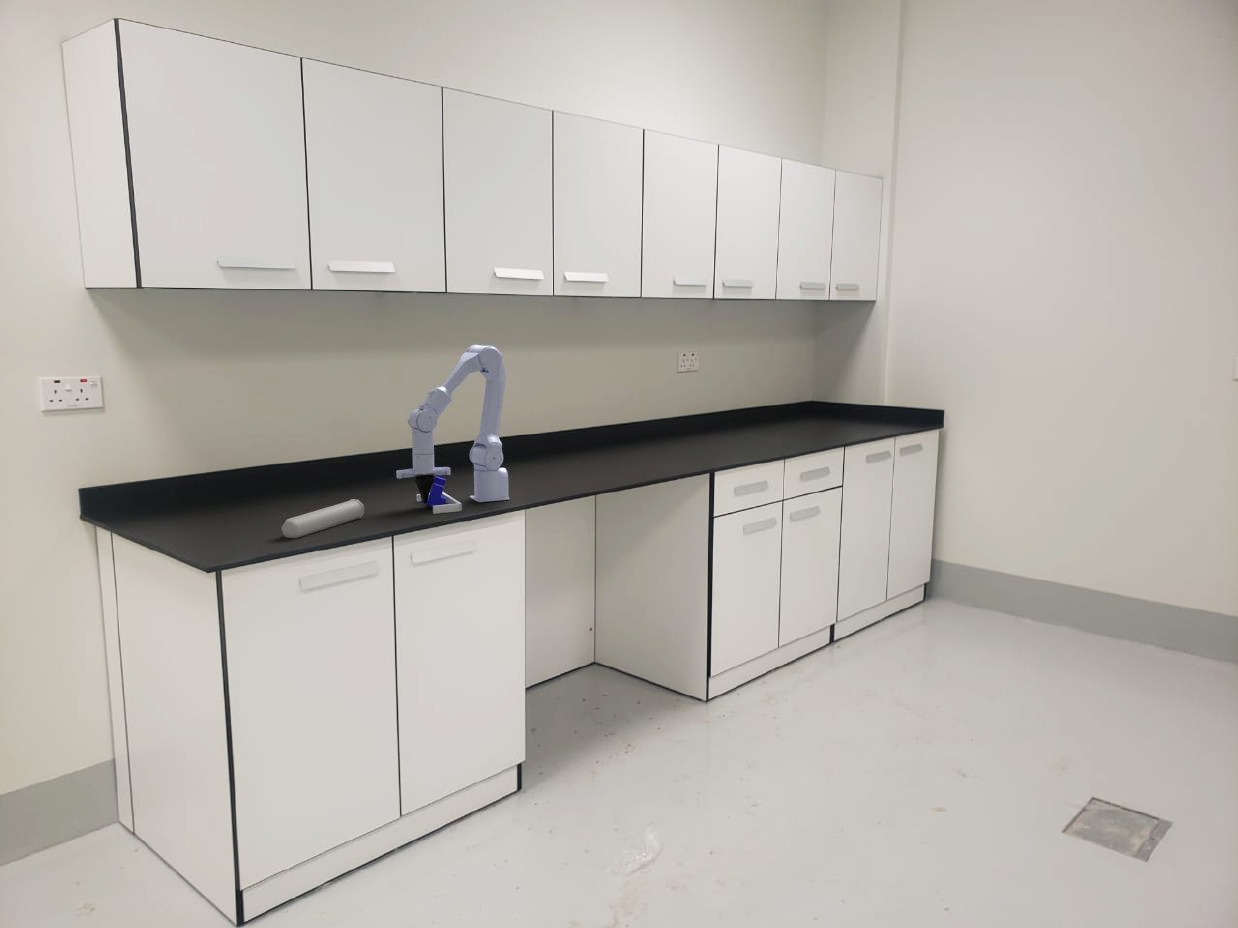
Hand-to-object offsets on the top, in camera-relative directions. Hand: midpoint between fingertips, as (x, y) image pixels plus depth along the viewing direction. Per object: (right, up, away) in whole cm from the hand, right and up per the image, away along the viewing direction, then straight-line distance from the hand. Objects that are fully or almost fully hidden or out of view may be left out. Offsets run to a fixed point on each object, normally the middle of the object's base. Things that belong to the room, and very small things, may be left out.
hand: (424, 502), depth 242 cm
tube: (-20, -6, -23) cm, 31 cm away
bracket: (+3, -1, +2) cm, 4 cm away
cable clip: (+2, 0, +3) cm, 4 cm away
